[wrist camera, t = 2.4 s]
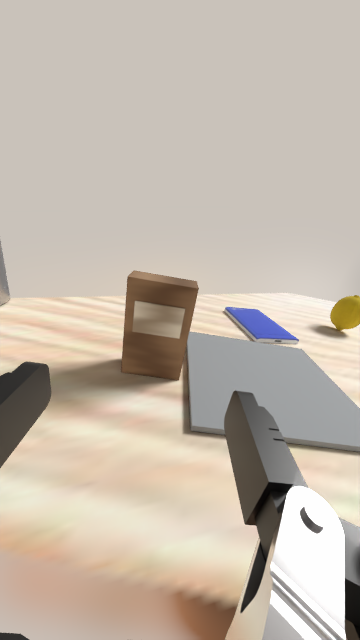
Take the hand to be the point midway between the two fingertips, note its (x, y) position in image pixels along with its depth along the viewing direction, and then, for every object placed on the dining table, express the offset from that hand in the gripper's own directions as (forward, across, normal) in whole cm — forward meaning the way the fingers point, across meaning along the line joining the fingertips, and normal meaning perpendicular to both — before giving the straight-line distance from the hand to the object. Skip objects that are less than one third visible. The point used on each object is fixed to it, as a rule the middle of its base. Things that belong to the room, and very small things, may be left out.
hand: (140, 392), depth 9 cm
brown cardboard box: (+12, 0, +8) cm, 14 cm away
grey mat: (+13, -13, +8) cm, 19 cm away
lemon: (+34, -38, +8) cm, 51 cm away
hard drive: (+29, -18, +8) cm, 35 cm away
